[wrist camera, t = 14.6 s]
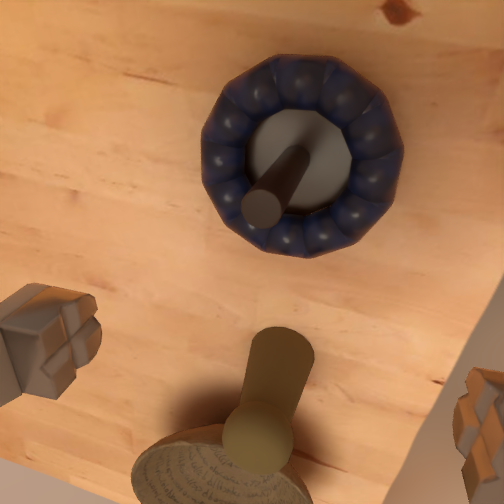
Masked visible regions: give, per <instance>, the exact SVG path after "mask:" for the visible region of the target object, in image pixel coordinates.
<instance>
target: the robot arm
mask: <svg viewBox="0 0 504 504" xmlns="http://www.w3.org/2000/svg"><path fill="white" fill-rule="evenodd" d="M97 310H98V308H97V304H96V300H95V297H93V296H92V295H90V294H87V293H83V292H78V291H73V290H69V289H64V288H59V287H55V286H53V287H52V286H48V285H44V284H39V283H31V284H27V285H26V286H24V287H23V288H21V289H20V290H18V291H17V292H15V293H14V294H12V295H11V296H9V297H8V298H7V299H5V300H4V301H2V302H1V303H0V407H1V406H3V405H5V404H6V403H8V402H10V401H12V400H14V399H15V398H17V397H19V396H21V395H22V393H27V394H31V395H36V396H40V397H45V398H49V399H54V400H57V399H58V398H59V397H60V395H61V394H62V393H63V392H64V391H65V390H66V389H67V387H68V386H69V385H70V384H71V383H72V382H73V381H74V380H75V378H76V369H78V368H80V367H82V366H84V365H86V364H89V362H90V361H91V360H92V359H93V358H94V356H95V355H96V354H97V351H98V349H99V347H100V344H101V339H102V330H101V324H100V323H99V322H98V321H97V320H96V318H95V317H94V314H95V313H96V311H97ZM465 383H466V386H467V389H468V393H467V394H465V395H463V396H461V397H460V398H458V401H457V403H456V406H455V409H454V415H453V424H452V426H453V436H454V441H455V446H456V449H457V450H458V451H459V452H460V453H461V454H462V455H463V456H464V458H465V459H466V461H465V463H464V466H463V467H462V470H461V471H462V475H463V479H464V484H465V488H466V491H467V495H468V500H469V504H504V372H500V371H495V370H489V369H484V368H478V367H473V368H472V369H471V371H470V372H469V374H468V376H467V378H466V381H465Z"/></svg>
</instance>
